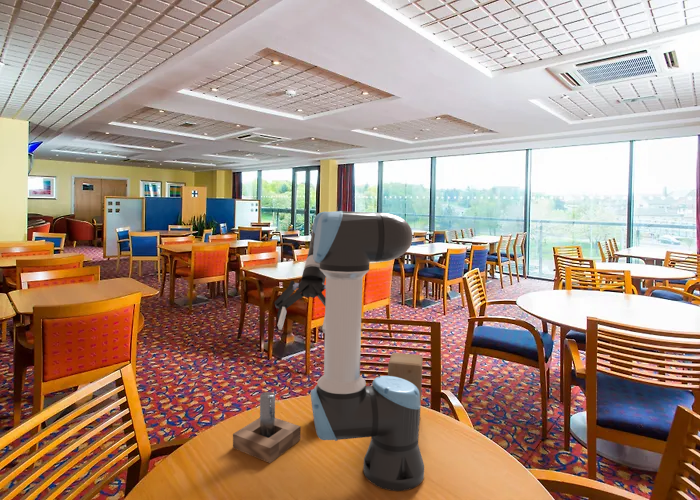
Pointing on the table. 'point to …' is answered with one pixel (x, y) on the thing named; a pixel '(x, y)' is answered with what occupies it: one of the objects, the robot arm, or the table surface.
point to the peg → (267, 414)
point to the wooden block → (407, 369)
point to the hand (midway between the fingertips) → (301, 329)
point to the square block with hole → (266, 440)
